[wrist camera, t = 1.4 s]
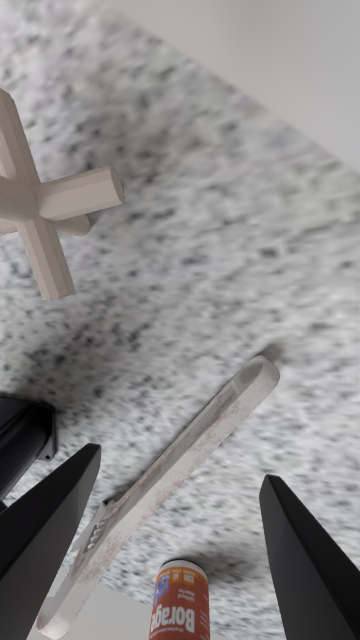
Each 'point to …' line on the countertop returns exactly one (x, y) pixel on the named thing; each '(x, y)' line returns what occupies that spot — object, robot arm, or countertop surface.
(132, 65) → the countertop surface
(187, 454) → the wrench
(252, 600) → the countertop surface
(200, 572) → the pill bottle
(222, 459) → the countertop surface
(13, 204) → the pipe connector
